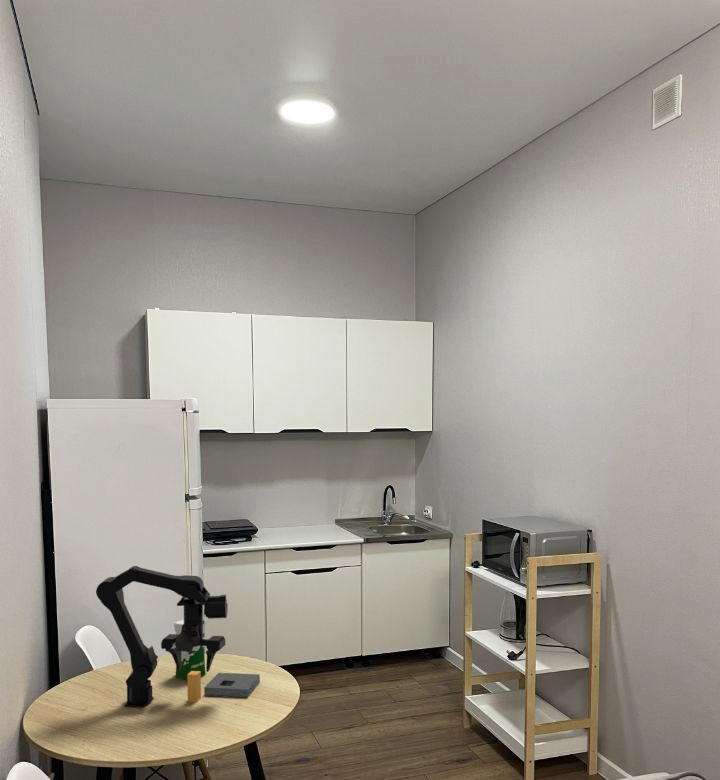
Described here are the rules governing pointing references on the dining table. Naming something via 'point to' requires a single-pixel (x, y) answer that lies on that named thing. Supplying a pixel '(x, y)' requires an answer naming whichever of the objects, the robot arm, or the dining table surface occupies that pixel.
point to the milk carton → (190, 656)
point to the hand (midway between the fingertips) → (193, 670)
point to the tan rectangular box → (194, 686)
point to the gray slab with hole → (232, 685)
